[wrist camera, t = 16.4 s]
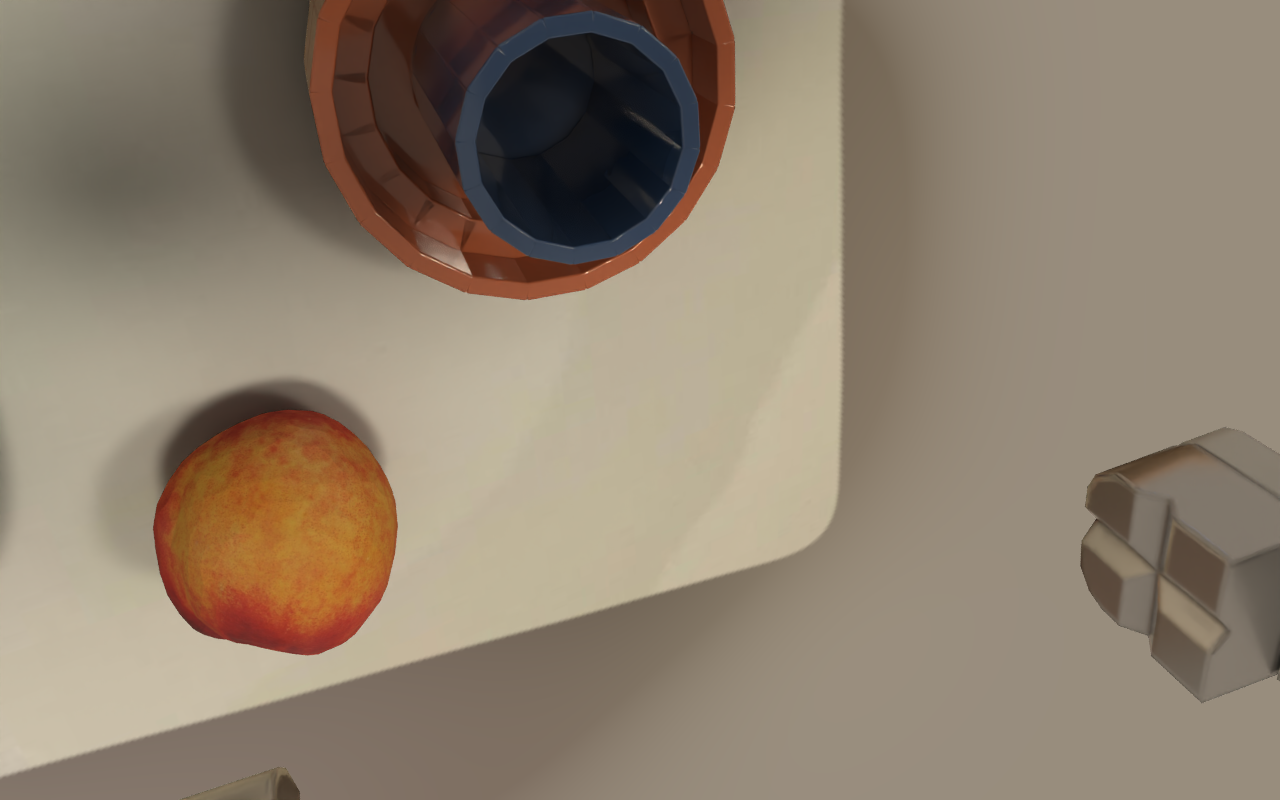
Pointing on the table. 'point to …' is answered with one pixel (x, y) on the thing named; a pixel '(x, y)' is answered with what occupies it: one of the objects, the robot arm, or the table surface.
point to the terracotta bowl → (419, 173)
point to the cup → (557, 121)
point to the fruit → (278, 533)
